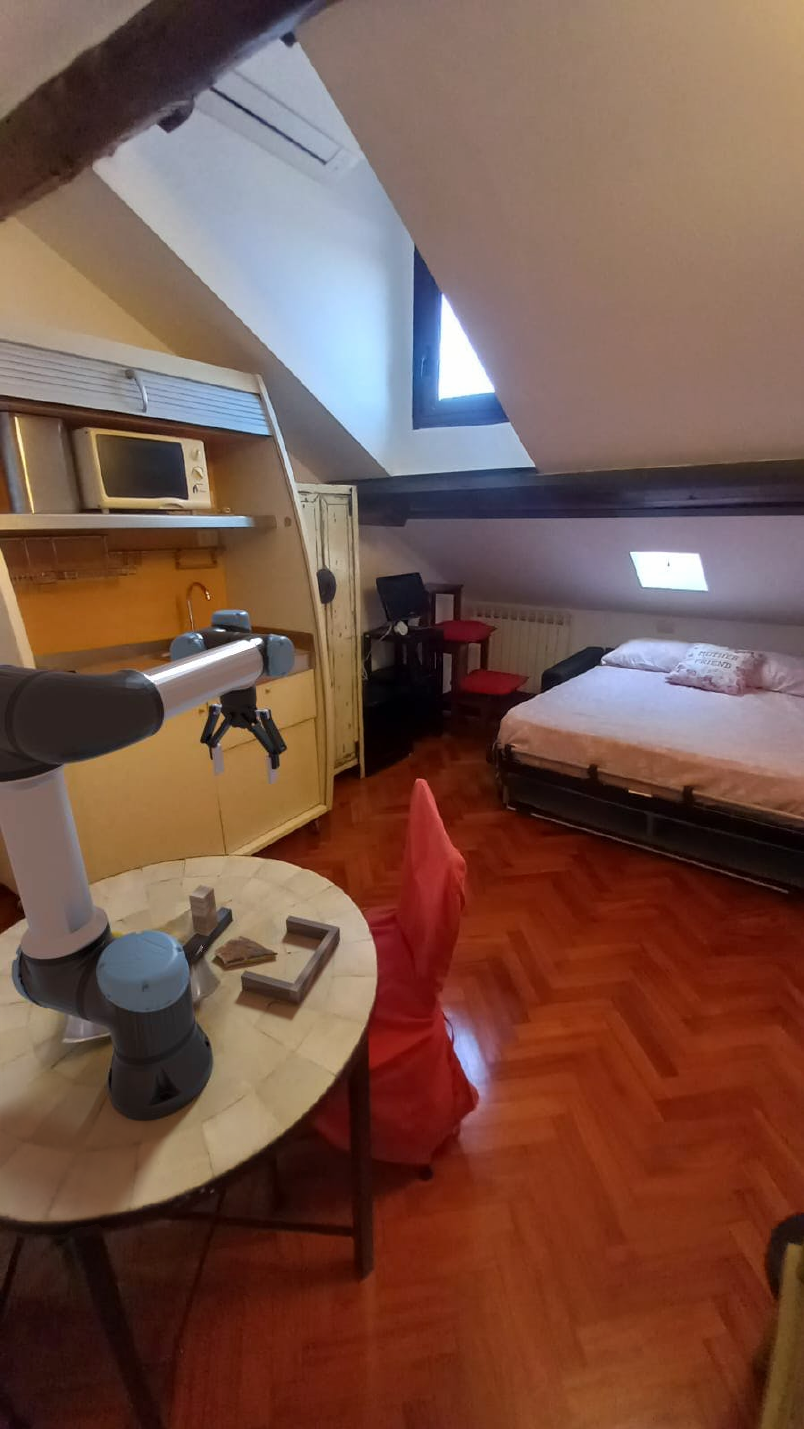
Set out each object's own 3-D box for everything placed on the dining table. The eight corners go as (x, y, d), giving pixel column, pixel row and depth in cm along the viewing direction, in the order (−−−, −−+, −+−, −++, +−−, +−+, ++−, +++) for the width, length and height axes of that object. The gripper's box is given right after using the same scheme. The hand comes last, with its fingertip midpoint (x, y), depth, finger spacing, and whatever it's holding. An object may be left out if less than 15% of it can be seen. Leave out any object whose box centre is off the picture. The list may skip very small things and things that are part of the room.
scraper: (192, 966, 115) (185, 914, 111) (179, 962, 116) (171, 911, 112) (234, 921, 127) (228, 873, 124) (221, 918, 128) (215, 870, 125)
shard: (278, 959, 117) (277, 951, 117) (250, 984, 111) (249, 976, 111) (239, 939, 123) (238, 932, 122) (210, 962, 117) (209, 954, 116)
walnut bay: (298, 1005, 106) (297, 991, 105) (242, 989, 109) (240, 976, 108) (340, 939, 122) (339, 927, 121) (290, 927, 125) (289, 915, 124)
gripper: (299, 685, 124) (304, 778, 131) (198, 675, 131) (208, 763, 138) (280, 695, 117) (287, 792, 124) (175, 684, 125) (187, 776, 132)
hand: (246, 777), depth 131 cm, fingers open, 13 cm apart
